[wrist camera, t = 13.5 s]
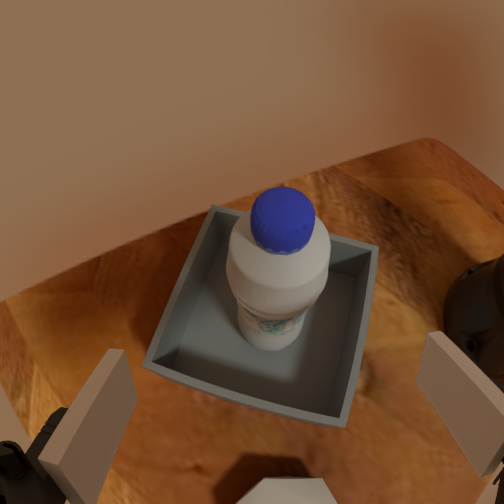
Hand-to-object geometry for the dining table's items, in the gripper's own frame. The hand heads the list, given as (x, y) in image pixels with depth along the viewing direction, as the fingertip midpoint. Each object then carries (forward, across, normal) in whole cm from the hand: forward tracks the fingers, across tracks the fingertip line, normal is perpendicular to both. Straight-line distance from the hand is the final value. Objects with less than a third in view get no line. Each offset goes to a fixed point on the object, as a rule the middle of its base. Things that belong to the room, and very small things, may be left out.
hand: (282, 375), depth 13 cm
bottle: (+19, +1, -8) cm, 21 cm away
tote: (+20, 0, -8) cm, 22 cm away
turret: (+3, +3, -26) cm, 27 cm away
